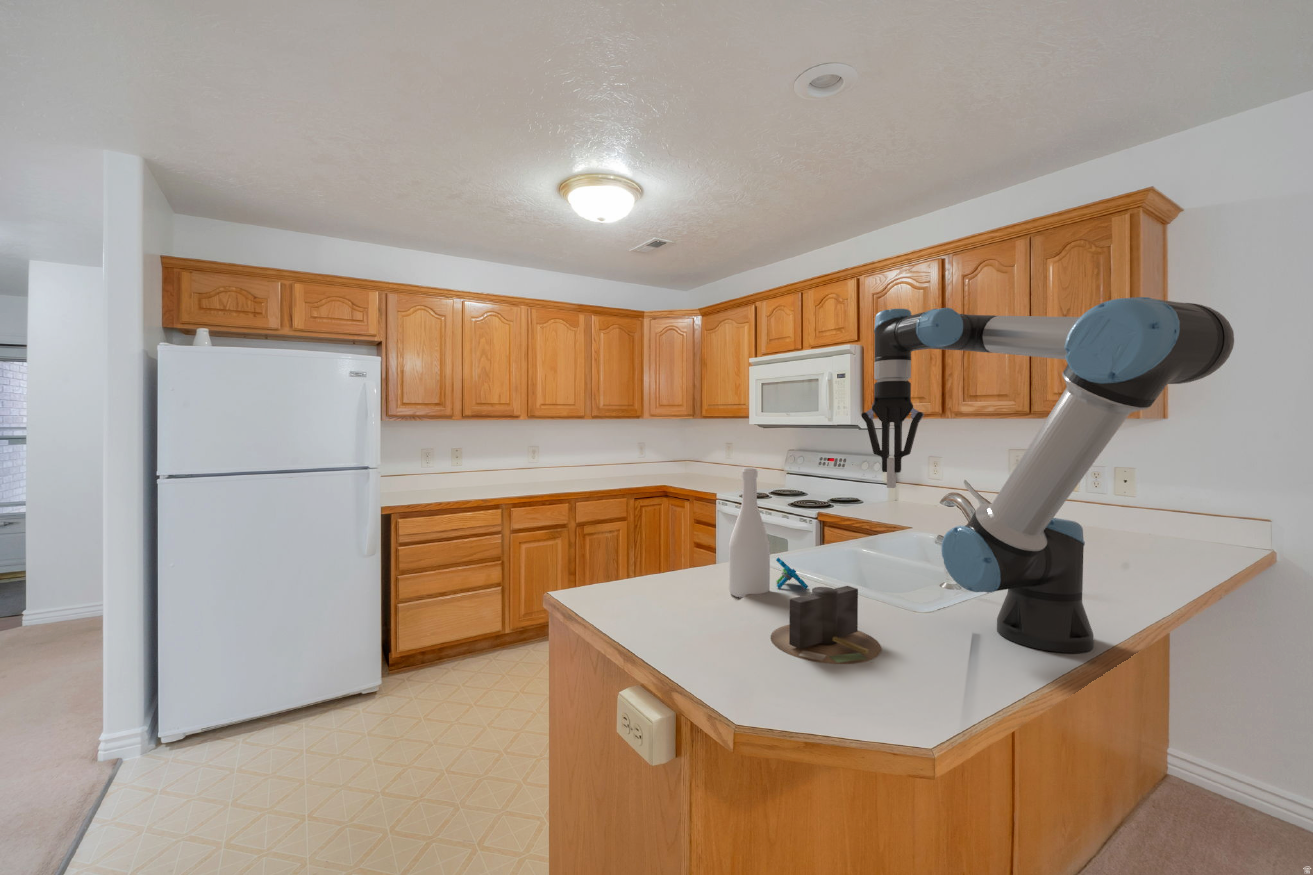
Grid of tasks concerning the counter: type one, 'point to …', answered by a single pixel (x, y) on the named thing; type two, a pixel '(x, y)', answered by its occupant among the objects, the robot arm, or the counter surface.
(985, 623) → the counter surface
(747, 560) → the wine bottle
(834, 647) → the dial
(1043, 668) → the counter surface
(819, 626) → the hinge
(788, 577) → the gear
